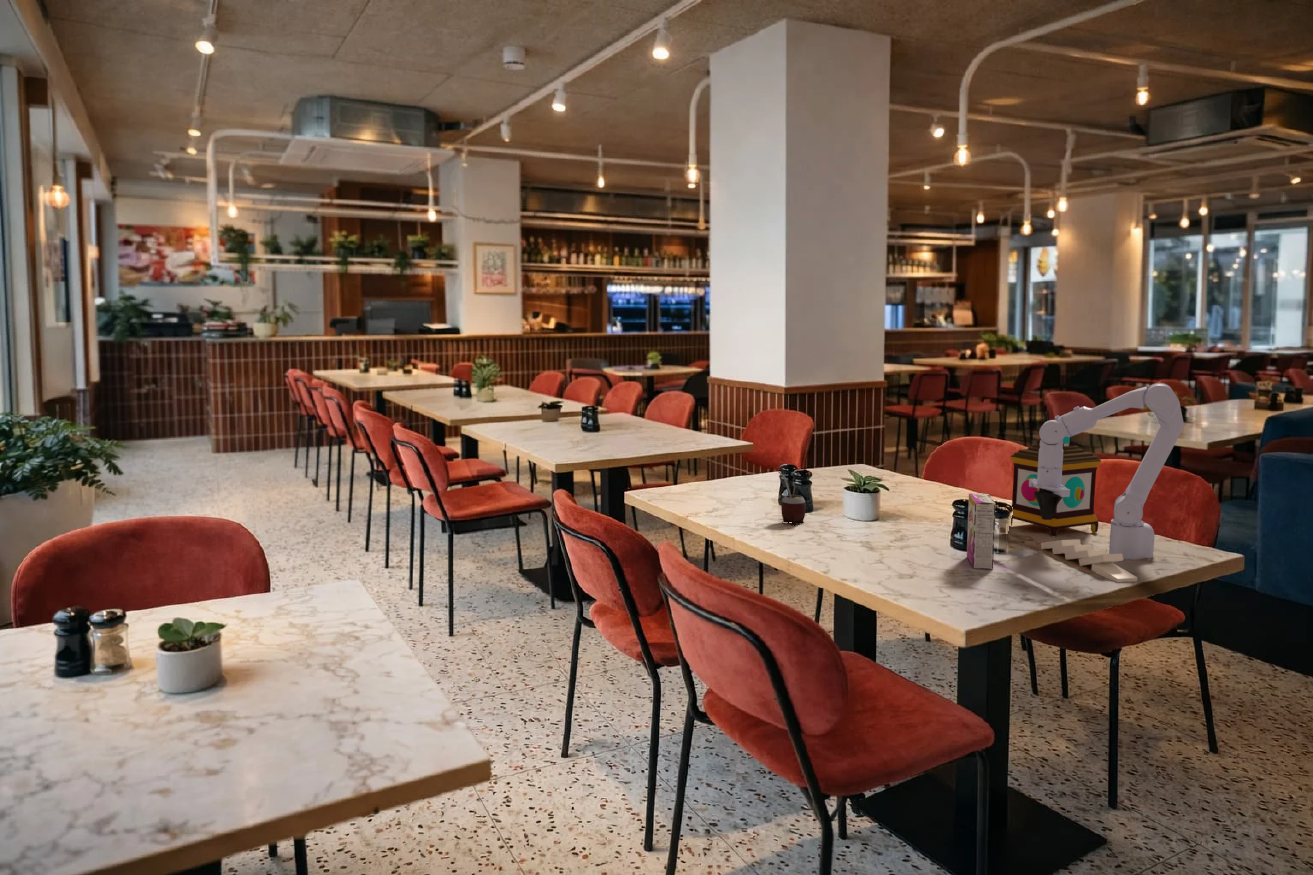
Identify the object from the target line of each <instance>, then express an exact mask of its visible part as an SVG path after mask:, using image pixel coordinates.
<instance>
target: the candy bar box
mask: <svg viewBox="0 0 1313 875" xmlns="http://www.w3.org/2000/svg"><path fill="white" fill-rule="evenodd" d="M996 505H997V504H996V502H995V501H994V500H993V498H992V497H991V496H990V494H989V493H975V492H974V493H973V492H972V493H968V506H967V507H968V508H967V510H968V511H967V514H968V515H967V540H966V542H967V543H966V558H967V560H968V561H969V563H970V565H971V568H972V569H975V570H994V557H995V535H996V534H995V530H996V529H995V528H996V527H995V526H996Z"/></svg>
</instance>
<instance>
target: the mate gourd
mask: <svg viewBox="0 0 1313 875" xmlns="http://www.w3.org/2000/svg"><path fill="white" fill-rule="evenodd" d="M777 473H778V474H779V475H781V477H782V478H783V480H784V481H783V482H785V485H786V486H785V487H786V489H787V494H788V495H784V497H783V498H782V499H781V505H780V508H781V518H782V520H783V521H782V522H792V523H793V525H796V526H797V524H796V523H804V524H805V521H804V520H805V517H806V509H807V504H806V500H805V498H804V497H803V496H801V495H799V494H791V491H790V486H789V484H788V479H787V478H786V476H785V474H783V473H782V472H781V471H779V470H778V471H777ZM793 525H792V526H793Z"/></svg>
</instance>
